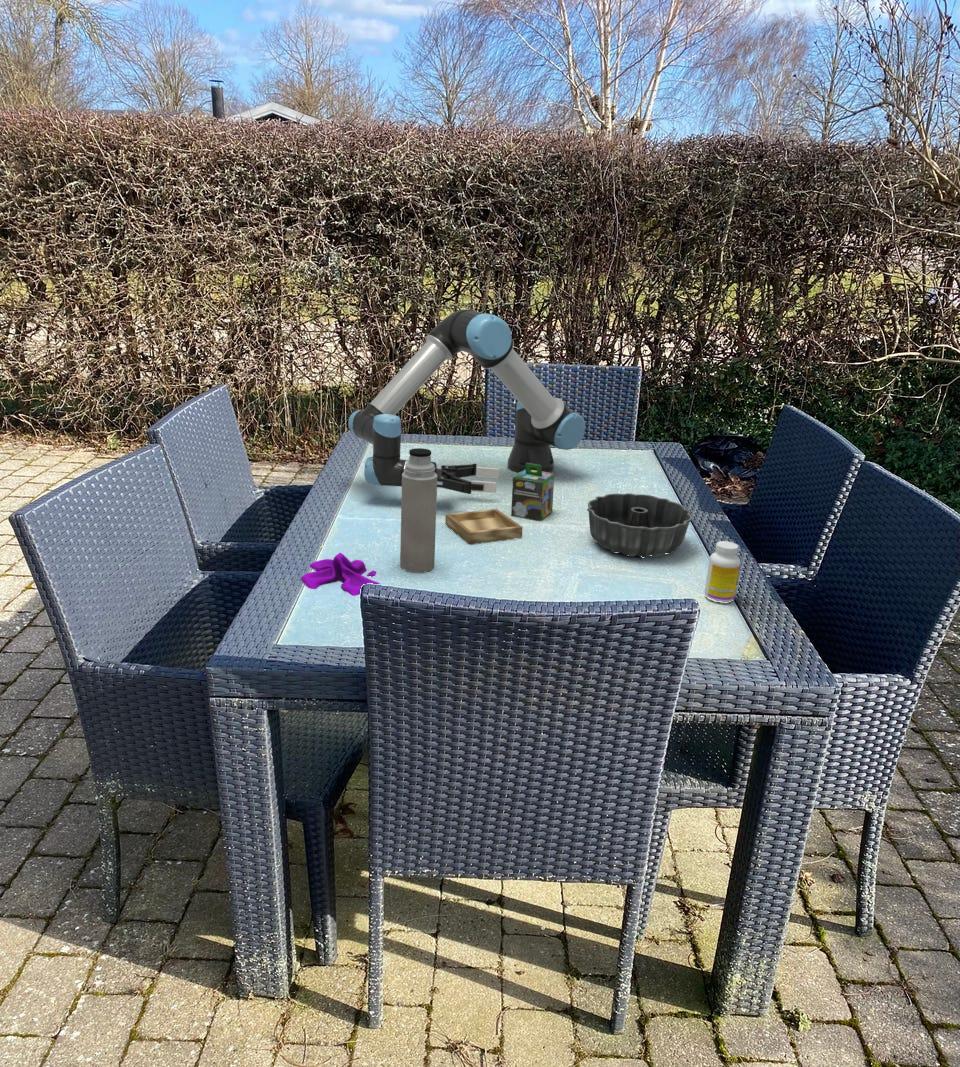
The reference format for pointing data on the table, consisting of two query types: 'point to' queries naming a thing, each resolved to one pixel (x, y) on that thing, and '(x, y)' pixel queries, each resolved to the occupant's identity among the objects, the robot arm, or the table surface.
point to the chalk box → (532, 493)
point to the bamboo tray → (483, 526)
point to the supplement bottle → (723, 572)
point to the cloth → (339, 574)
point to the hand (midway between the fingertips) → (497, 480)
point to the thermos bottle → (418, 512)
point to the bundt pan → (638, 523)
